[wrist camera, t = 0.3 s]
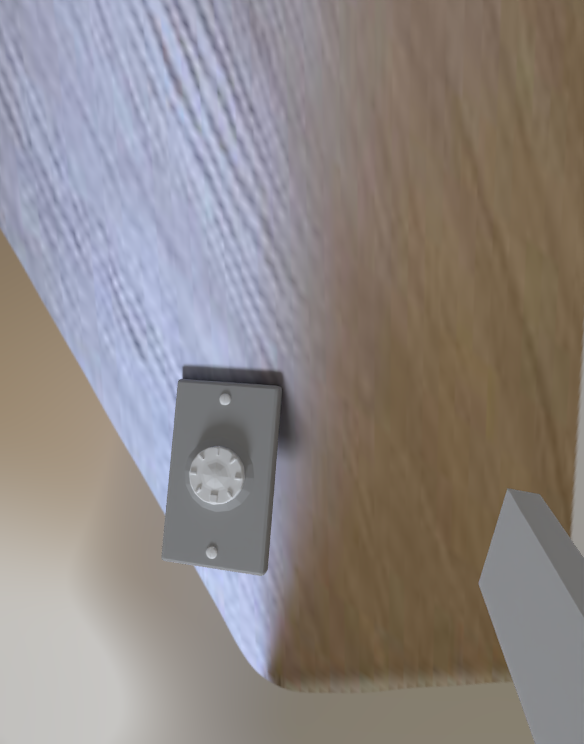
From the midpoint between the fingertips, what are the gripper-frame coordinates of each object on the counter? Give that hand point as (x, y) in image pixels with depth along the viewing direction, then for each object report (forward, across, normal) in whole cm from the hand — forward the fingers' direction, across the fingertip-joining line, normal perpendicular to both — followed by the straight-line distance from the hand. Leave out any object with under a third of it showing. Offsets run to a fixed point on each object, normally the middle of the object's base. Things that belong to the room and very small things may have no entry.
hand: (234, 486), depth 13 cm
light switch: (+29, -4, -13) cm, 32 cm away
